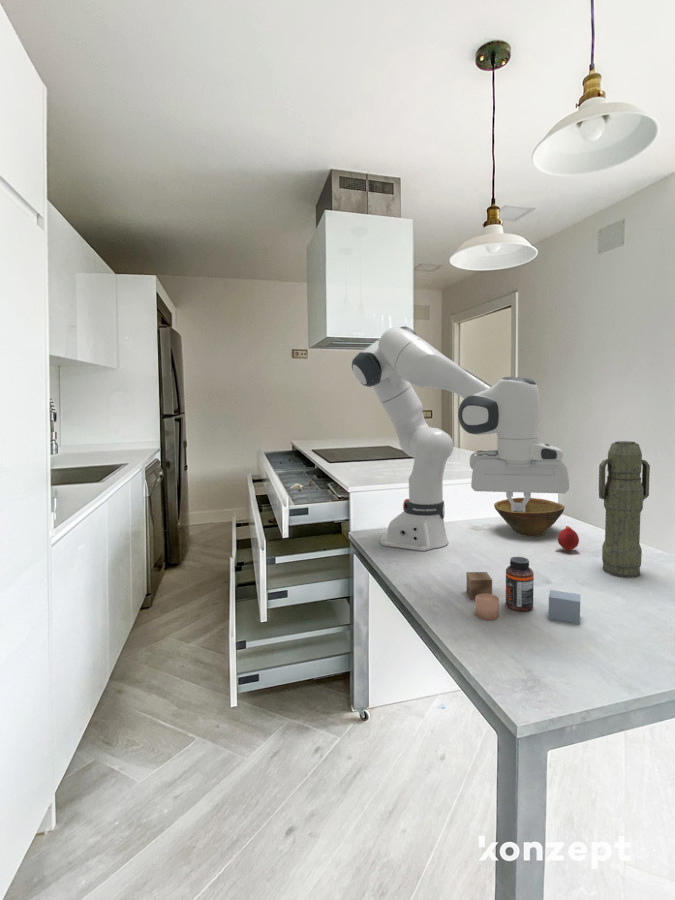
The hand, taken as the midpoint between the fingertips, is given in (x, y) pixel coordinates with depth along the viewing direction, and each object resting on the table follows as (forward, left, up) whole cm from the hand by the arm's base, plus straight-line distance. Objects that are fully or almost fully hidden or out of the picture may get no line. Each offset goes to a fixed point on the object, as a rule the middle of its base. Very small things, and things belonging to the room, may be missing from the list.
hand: (518, 511), depth 102 cm
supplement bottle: (0, 0, -23) cm, 23 cm away
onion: (+16, +42, -23) cm, 51 cm away
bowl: (+6, +60, -23) cm, 65 cm away
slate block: (+9, -3, -23) cm, 25 cm away
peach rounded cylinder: (-7, -6, -23) cm, 24 cm away
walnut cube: (-9, +4, -23) cm, 25 cm away
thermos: (+27, +28, -23) cm, 45 cm away
